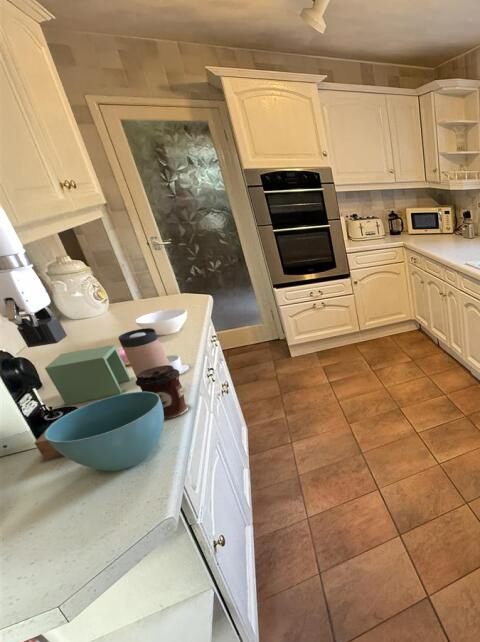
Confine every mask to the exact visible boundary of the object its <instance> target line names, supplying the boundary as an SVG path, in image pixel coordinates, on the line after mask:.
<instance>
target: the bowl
mask: <svg viewBox="0 0 480 642" xmlns="http://www.w3.org/2000/svg"><path fill="white" fill-rule="evenodd" d="M187 318H188V312H187V310H186V309H183V308H172V309H163V310H158V311H154V312H151V313H148V314H144V315H142V316H140V317H138V318H136V319H135V324H136V325H137V326H138V327H139V328H140V329H145V328H152V329H154V330H155V332H156V334H157V336H167V335H171V334H175V333H177V332H179V331H180V330H181V328H182V326H183V325H184V323H185V322H186V320H187Z"/></svg>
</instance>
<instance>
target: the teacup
mask: <svg viewBox="0 0 480 642" xmlns="http://www.w3.org/2000/svg"><path fill="white" fill-rule="evenodd" d="M166 357H167V359H168V361H169V364H170V366H173V368H174V369H177V370H178V371H179V375H182V374H183V373H185V372H187V371H188V370H189V369H190V367H189V365H188V364H182V361H181V357H180V355H178V354H171V355H170V354H169V355H166Z"/></svg>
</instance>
